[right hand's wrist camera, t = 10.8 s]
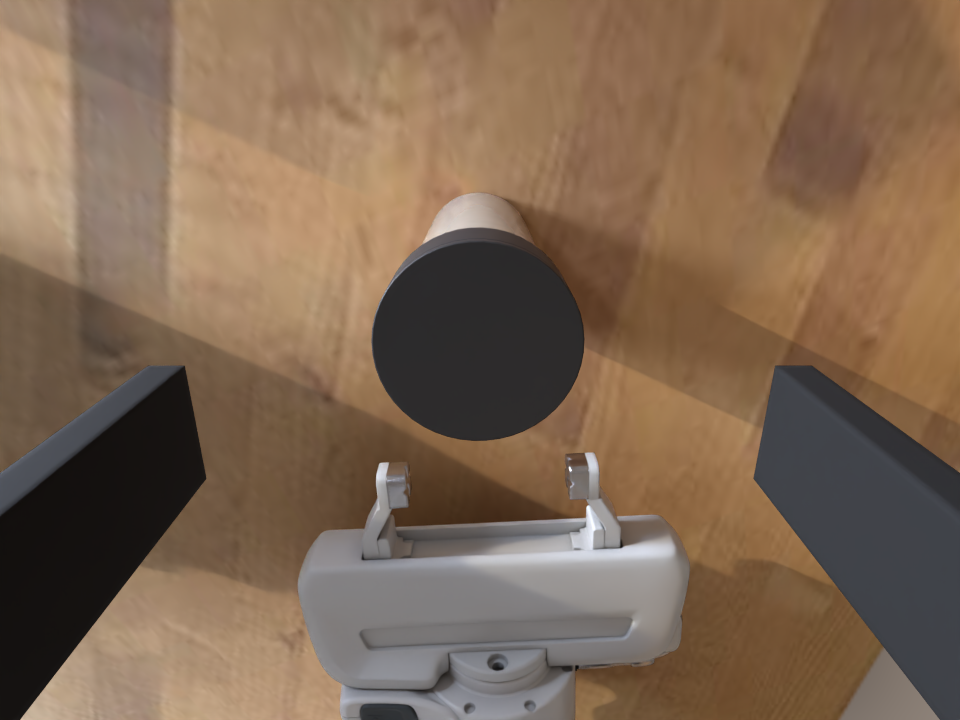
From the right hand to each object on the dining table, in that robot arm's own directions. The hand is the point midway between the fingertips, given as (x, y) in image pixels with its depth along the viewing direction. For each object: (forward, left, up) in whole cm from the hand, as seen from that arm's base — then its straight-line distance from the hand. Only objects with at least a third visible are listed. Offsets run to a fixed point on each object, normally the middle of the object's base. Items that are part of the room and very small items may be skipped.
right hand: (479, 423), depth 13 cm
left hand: (+5, -8, -15) cm, 17 cm away
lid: (0, 0, -5) cm, 5 cm away
